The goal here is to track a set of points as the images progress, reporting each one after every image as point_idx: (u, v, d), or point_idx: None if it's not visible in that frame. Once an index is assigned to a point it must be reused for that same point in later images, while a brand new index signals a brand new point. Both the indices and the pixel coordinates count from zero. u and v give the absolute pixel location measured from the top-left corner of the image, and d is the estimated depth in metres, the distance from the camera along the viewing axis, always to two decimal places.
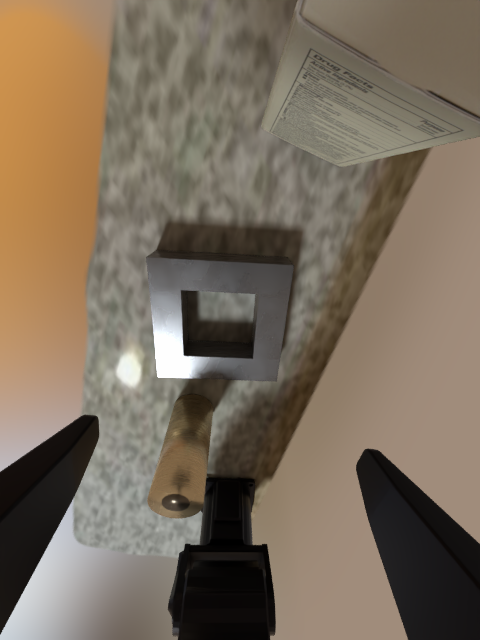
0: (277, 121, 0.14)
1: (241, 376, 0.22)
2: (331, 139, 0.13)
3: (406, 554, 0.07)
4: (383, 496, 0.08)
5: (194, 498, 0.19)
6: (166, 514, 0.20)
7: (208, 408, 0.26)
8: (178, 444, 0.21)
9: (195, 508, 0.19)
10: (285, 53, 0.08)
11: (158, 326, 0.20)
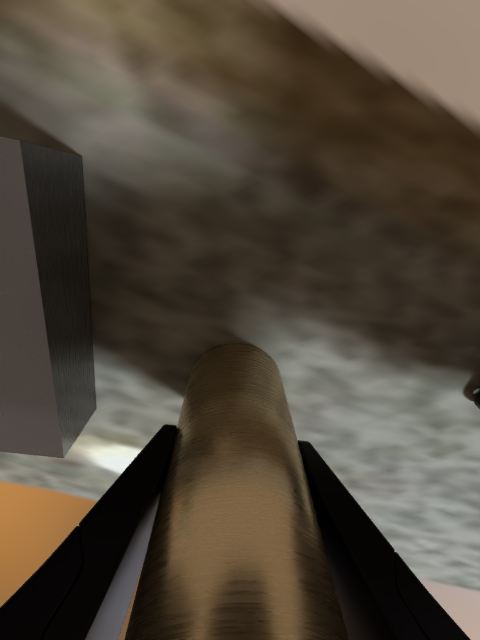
0: None
1: (22, 274, 0.07)
2: None
3: None
4: None
5: None
6: None
7: (213, 361, 0.10)
8: None
9: None
10: None
11: None
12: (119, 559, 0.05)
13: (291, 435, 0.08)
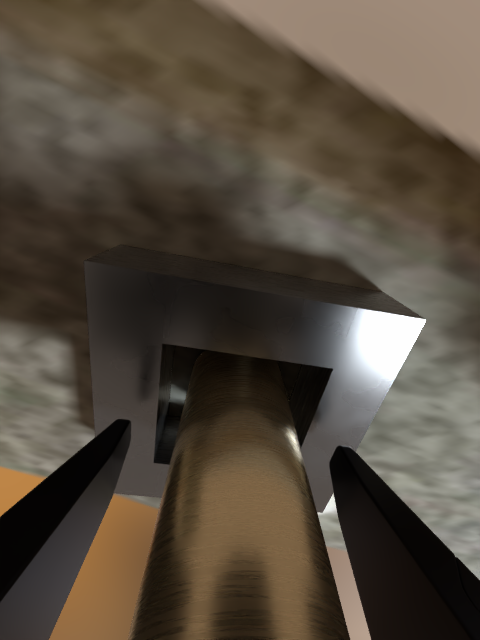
0: None
1: (375, 395, 0.09)
2: None
3: (371, 551, 0.07)
4: (351, 493, 0.08)
5: None
6: None
7: (214, 356, 0.10)
8: None
9: None
10: None
11: None
12: (33, 553, 0.04)
13: (290, 425, 0.08)
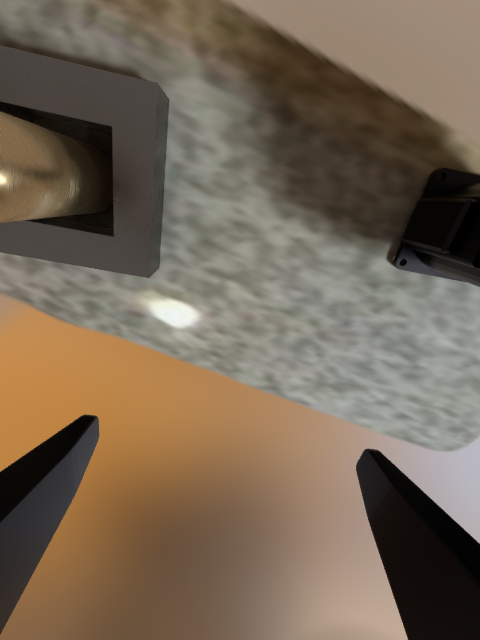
0: None
1: (147, 152, 0.14)
2: None
3: (406, 554, 0.07)
4: (383, 496, 0.08)
5: None
6: None
7: None
8: None
9: None
10: None
11: (71, 258, 0.16)
12: None
13: (72, 147, 0.13)
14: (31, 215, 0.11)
